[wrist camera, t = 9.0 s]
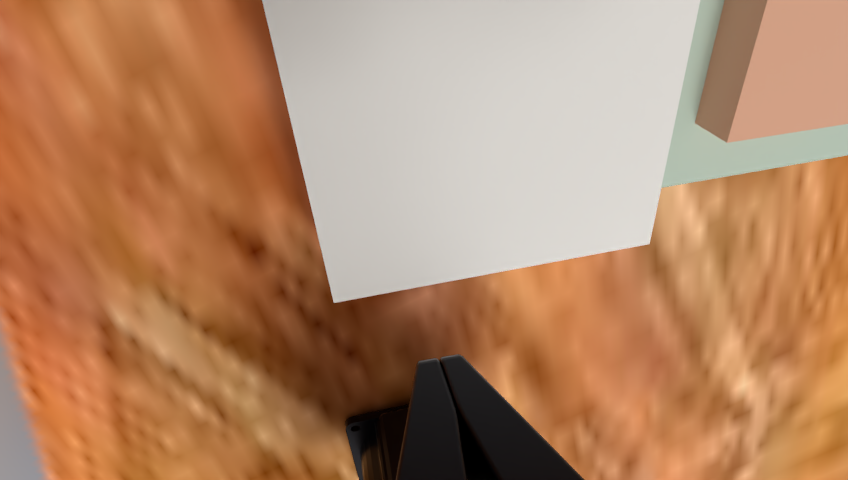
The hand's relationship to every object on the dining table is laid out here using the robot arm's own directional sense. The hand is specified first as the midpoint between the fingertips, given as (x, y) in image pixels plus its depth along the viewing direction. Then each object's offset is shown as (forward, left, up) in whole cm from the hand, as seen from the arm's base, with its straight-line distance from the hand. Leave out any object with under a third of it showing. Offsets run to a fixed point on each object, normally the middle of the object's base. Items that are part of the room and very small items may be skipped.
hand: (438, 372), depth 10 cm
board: (+3, -4, -12) cm, 13 cm away
